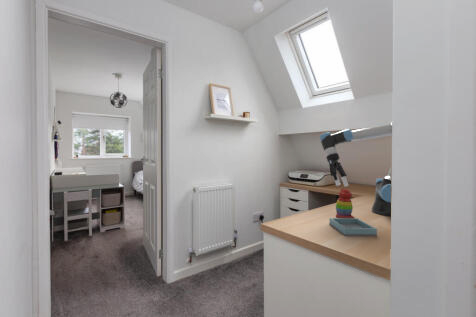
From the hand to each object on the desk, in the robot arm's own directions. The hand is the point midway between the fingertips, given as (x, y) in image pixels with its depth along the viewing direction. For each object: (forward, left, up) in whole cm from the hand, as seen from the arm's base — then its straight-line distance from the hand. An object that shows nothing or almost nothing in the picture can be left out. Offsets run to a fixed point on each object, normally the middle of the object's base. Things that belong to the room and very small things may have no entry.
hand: (342, 185), depth 145 cm
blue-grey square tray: (+7, +25, -19) cm, 32 cm away
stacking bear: (0, +4, -19) cm, 20 cm away
